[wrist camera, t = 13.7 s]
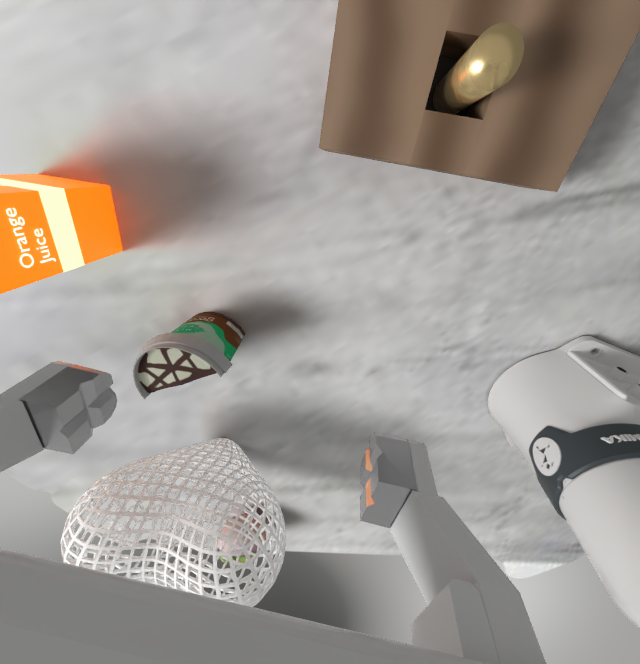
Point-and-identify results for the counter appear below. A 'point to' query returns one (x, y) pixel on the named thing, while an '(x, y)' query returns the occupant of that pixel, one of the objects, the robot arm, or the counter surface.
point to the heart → (201, 547)
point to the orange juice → (52, 227)
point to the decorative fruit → (227, 530)
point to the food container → (187, 353)
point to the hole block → (490, 111)
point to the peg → (481, 69)
